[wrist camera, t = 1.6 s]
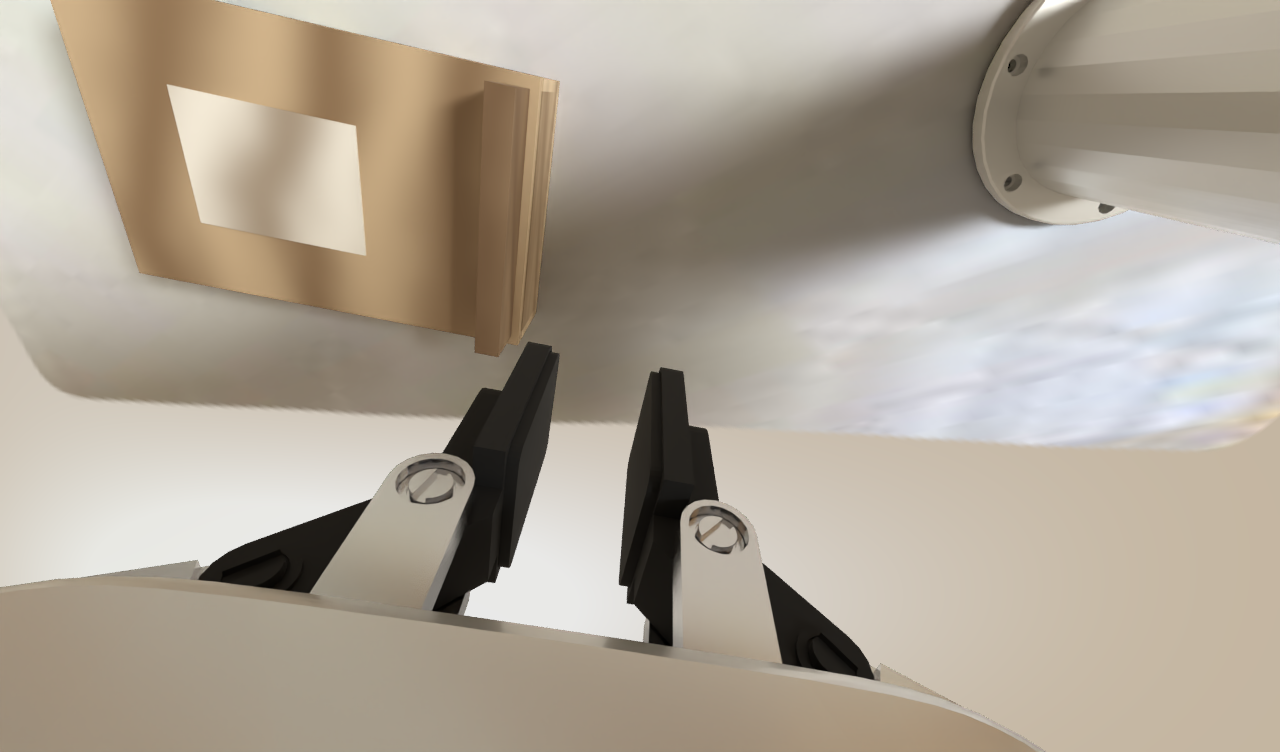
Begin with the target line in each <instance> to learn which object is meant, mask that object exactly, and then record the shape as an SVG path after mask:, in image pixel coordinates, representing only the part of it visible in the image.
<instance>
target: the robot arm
mask: <svg viewBox="0 0 1280 752" xmlns="http://www.w3.org/2000/svg"><path fill="white" fill-rule="evenodd" d="M1009 63H1010V64H1011V65H1010V68H1009V70H1008V65H1009ZM973 153H974V158H975V162H976V167H977V171H978V173H979V175H980V177H981V179H982V181H983V184H984V186H985V188H986V189H987V190H988V191H989V193H990V194H991V195H992V196H993V197H994V198H995V200H996V201H997V202H998V203H999V204H1001V205H1002V206H1004V207H1005V208H1007V209H1008V210H1010V211H1011V212H1013V213H1015V214H1018V215H1020V216H1023V217H1026V218H1028V219H1031V220H1034V221H1039V222H1043V223H1048V224H1052V225H1077V224H1083V223H1089V222H1095V221H1100V220H1103V219H1106V218H1109V217H1112V216H1115V215H1118V214H1121V213H1124V212H1126V211H1128V210H1133V211H1137V212H1141V213H1146V214H1150V215H1154V216H1158V217H1163V218H1167V219H1171V220H1176V221H1180V222H1184V223H1189V224H1193V225H1197V226H1202V227H1206V228H1210V229H1215V230H1219V231H1223V232H1227V233H1232V234H1236V235H1240V236H1245V237H1249V238H1253V239H1258V240H1262V241H1266V242H1271V243H1275V244H1279V245H1280V0H1034V1H1033V2H1032V3H1031V4H1030V5H1029V6H1028V7H1027V8H1026V9H1025V10H1024V12H1023V13H1022V14H1021V15H1020V17H1019V18H1018V20H1017V21H1016V23H1015V24H1014V25H1013V27H1012V28H1011V30H1010V31H1009V32H1008V34H1007V35H1006V37H1005V38H1004V40H1003V41H1002V43H1001V45H1000V47H999V49H998V51H997V53H996V54H995V56H994V58H993V60H992V62H991V64H990V66H989V68H988V70H987V73H986V75H985V78H984V81H983V84H982V87H981V90H980V92H979V95H978V98H977V104H976V109H975V115H974V120H973ZM1005 181H1006V182H1005ZM558 364H559V354H558V353H553V352H552V346H548V345H543V344H538V343H532V342H528V343H527V345H526V347H525V349H524V351H523V353H522V354H521V356H520V358H519V360H518V362H517V364H516V366H515V368H514V370H513V372H512V373H511V375H510V377H509V379H508V381H507V383H506V385H505V387H504V389H503V390H502V391H499V390H494V389H488V388H482V389H481V391H480V392H479V393H478V395H477V397H476V398H475V400H474V402H473V403H472V405H471V407H470V408H469V410H468V412H467V413H466V415H465V417H464V418H463V420H462V422H461V423H460V425H459V427H458V428H457V430H456V431H455V433H454V435H453V437H452V438H451V440H450V441H449V443H448V445H447V447H446V448H445V450H444V452H443V453H430V454H423V455H418V456H415V457H412V458H409V459H407V460H405V461H404V462H402V463H400V464H398V465H397V466H396V467H395V468H394V469H393V470H392V471H391V472H390V473H389V474H388V476H387V477H386V479H385V480H384V482H383V483H382V485H381V486H380V488H379V489H378V491H377V493H376V494H375V496H374V497H373V498H372V499H370V500H367V501H364V502H362V503H359V504H356V505H353V506H350V507H347V508H345V509H342V510H339V511H336V512H333V513H331V514H328V515H325V516H322V517H319V518H317V519H314V520H311V521H308V522H306V523H303V524H300V525H297V526H295V527H292V528H289V529H286V530H283V531H280V532H278V533H275V534H272V535H270V536H267V537H264V538H261V539H258V540H256V541H253V542H250V543H247V544H245V545H243V546H240V547H238V548H236V549H234V550H232V551H230V552H228V553H226V554H225V555H223V556H222V557H220V558H219V559H218V560H216V561H215V562H213V563H212V564H211V565H210V566H205V567H200V565H199V562H198V560H195V561H188V562H181V563H175V564H168V565H161V566H155V567H148V568H142V569H135V570H129V571H121V572H115V573H109V574H101V575H95V576H88V577H81V578H69V579H54V580H48V581H41V582H34V583H27V584H20V585H13V586H6V587H0V752H1046V751H1044V750H1043V749H1042V748H1040V747H1038V746H1037V745H1035V744H1034V743H1032V742H1030V741H1029V740H1027V739H1026V738H1024V737H1022V736H1021V735H1019V734H1017V733H1015V732H1013V731H1012V730H1010V729H1008V728H1006V727H1004V726H1002V725H1000V724H998V723H996V722H994V721H992V720H990V719H989V718H987V717H985V716H983V715H981V714H979V713H977V712H974V711H972V710H969V709H967V708H964V707H962V706H960V705H958V704H956V703H955V702H953V701H951V700H949V699H947V698H945V697H943V696H941V695H939V694H938V693H936V692H934V691H932V690H930V689H928V688H926V687H924V686H923V685H921V684H919V683H917V682H915V681H913V680H911V679H909V678H907V677H906V676H904V675H902V674H900V673H898V672H896V671H894V670H892V669H890V668H889V667H887V666H885V665H883V664H881V663H880V665H879V666H878V667H877V668H874V667H872V666H870V665H869V662H868V661H867V659H866V657H865V656H864V654H863V653H862V651H861V650H860V648H859V647H858V646H857V645H856V644H855V643H854V642H853V641H852V640H851V639H850V638H849V637H848V636H847V635H846V634H845V633H843V632H842V631H841V630H840V629H839V628H838V627H836V626H835V625H834V624H833V623H832V622H831V621H830V620H828V619H827V618H826V617H825V616H824V615H823V614H821V613H820V612H819V611H818V610H817V609H816V608H814V607H813V606H812V605H811V604H810V603H808V602H807V601H806V600H805V599H804V598H802V596H800V595H799V594H798V593H797V592H796V591H795V590H793V589H792V588H791V587H790V586H789V585H788V584H787V583H785V582H784V581H783V580H782V579H781V578H780V577H778V576H777V575H776V574H775V573H774V572H773V571H771V570H770V569H769V568H768V567H767V566H766V565H764V564H763V563H762V559H761V554H760V549H759V544H758V539H757V535H756V532H755V529H754V527H753V525H752V524H751V523H750V521H749V520H748V519H747V517H746V516H744V515H743V514H742V513H741V512H740V511H738V510H737V509H735V508H733V507H732V506H730V505H728V504H726V503H722V502H719V499H718V493H717V486H716V480H715V474H714V467H713V462H712V454H711V449H710V442H709V435H708V431H707V430H706V429H705V428H699V427H694V426H689V423H688V413H687V404H686V394H685V384H684V374H683V372H682V371H677V370H672V369H667V368H662V367H661V368H660V370H659V373H657V372H652V371H651V373H650V376H649V380H648V384H647V388H646V392H645V397H644V401H643V405H642V409H641V413H640V417H639V421H638V425H637V429H636V433H635V437H634V441H633V445H632V450H631V453H630V457H629V462H628V469H627V482H626V494H625V507H624V521H623V533H622V547H621V559H620V574H619V585H622V586H628V589H627V603H628V604H634V605H635V606H636V607H637V608H638V609H639V610H640V611H641V612H642V614H643V615H644V616H645V617H646V621H645V625H644V637H643V642H638V641H631V640H625V639H618V638H611V637H605V636H598V635H591V634H584V633H578V632H571V631H565V630H558V629H551V628H544V627H538V626H531V625H524V624H517V623H511V622H504V621H497V620H490V619H484V618H477V617H470V616H464V613H465V610H466V607H467V604H468V601H469V595H470V591H471V590H473V589H475V588H476V587H478V586H480V585H482V584H484V583H485V582H492V583H495V582H496V579H497V576H498V572H499V569H500V567H507V568H509V567H510V566H511V563H512V560H513V557H514V553H515V550H516V547H517V544H518V540H519V537H520V534H521V531H522V527H523V524H524V521H525V518H526V515H527V511H528V508H529V505H530V502H531V498H532V496H533V492H534V489H535V486H536V483H537V480H538V476H539V473H540V470H541V467H542V464H543V460H544V457H545V454H546V449H547V444H548V438H549V430H550V423H551V415H552V408H553V401H554V393H555V386H556V378H557V371H558Z"/></svg>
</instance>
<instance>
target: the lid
mask: <svg viewBox="0 0 1280 752" xmlns="http://www.w3.org/2000/svg"><path fill="white" fill-rule="evenodd" d="M50 1H51V4H52V7H53V10H54V13H55V16H56V19H57V22H58V25H59V28H60V31H61V34H62V37H63V40H64V43H65V46H66V49H67V53H68V56H69V59H70V62H71V65H72V68H73V71H74V74H75V77H76V80H77V83H78V86H79V89H80V92H81V95H82V98H83V101H84V104H85V108H86V111H87V114H88V117H89V120H90V123H91V126H92V129H93V132H94V135H95V138H96V141H97V144H98V147H99V150H100V153H101V156H102V159H103V163H104V166H105V169H106V172H107V175H108V178H109V181H110V184H111V187H112V190H113V193H114V196H115V199H116V202H117V205H118V208H119V211H120V214H121V218H122V221H123V224H124V227H125V230H126V233H127V236H128V239H129V242H130V245H131V248H132V251H133V254H134V257H135V260H136V263H137V266H138V269H139V273H143V274H148V275H153V276H159V277H164V278H169V279H174V280H180V281H185V282H190V283H195V284H200V285H206V286H211V287H216V288H221V289H226V290H232V291H237V292H242V293H247V294H252V295H258V296H263V297H268V298H273V299H278V300H284V301H289V302H294V303H299V304H304V305H310V306H315V307H320V308H325V309H330V310H336V311H341V312H346V313H351V314H356V315H362V316H367V317H372V318H377V319H382V320H388V321H393V322H398V323H403V324H408V325H414V326H419V327H424V328H429V329H435V330H440V331H445V332H450V333H455V334H461V335H466V336H471V337H475V353H480V354H485V355H490V356H495V357H499V355H500V353H501V352H502V350H503V349H504V347H505V345H506V344H513V345H518V344H519V342H520V334H521V322H522V311H523V299H524V288H525V276H526V265H527V253H528V242H529V230H530V219H531V207H532V196H533V184H534V173H535V161H536V150H537V138H538V127H539V115H540V104H541V92H542V81H543V78H540V77H535V76H531V75H527V74H523V73H518V72H514V71H510V70H506V69H501V68H497V67H493V66H488V65H484V64H480V63H476V62H471V61H467V60H463V59H459V58H454V57H450V56H446V55H442V54H437V53H433V52H429V51H425V50H420V49H416V48H412V47H408V46H403V45H399V44H395V43H391V42H386V41H382V40H378V39H374V38H369V37H365V36H361V35H356V34H352V33H348V32H344V31H339V30H335V29H331V28H327V27H322V26H318V25H314V24H310V23H305V22H301V21H297V20H293V19H288V18H284V17H280V16H276V15H271V14H267V13H263V12H259V11H254V10H250V9H246V8H242V7H237V6H233V5H229V4H224V3H220V2H216V1H212V0H50Z"/></svg>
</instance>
